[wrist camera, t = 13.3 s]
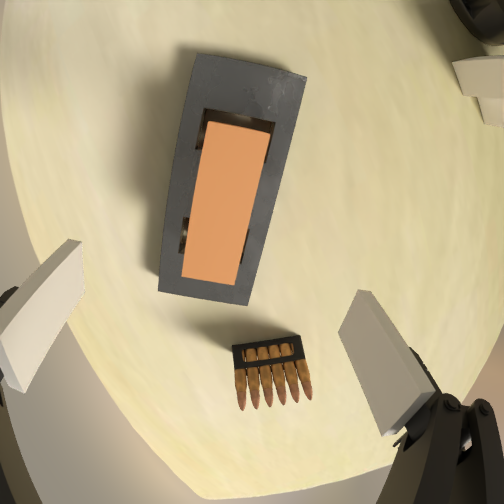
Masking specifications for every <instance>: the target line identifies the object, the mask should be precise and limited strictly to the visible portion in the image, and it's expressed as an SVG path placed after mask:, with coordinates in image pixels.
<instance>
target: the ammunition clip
mask: <svg viewBox="0 0 504 504" xmlns="http://www.w3.org/2000/svg"><path fill="white" fill-rule="evenodd" d="M232 351H233V361H234V372H235V387H236V390H237V399H238V404H239V407H240V409H241V410H242V411H243V410H244V409H245V405H246V388H247V380H246V376H247V379H248V386H249V389H250V395H251V400H252V404H253V406H254V408H255V409H257V408H258V406H259V400H260V395H259V385H260V381H259V374H260V380H261V385H262V387H263V391H264V397H265V400H266V402H267V404H268V406H269V407H271V406H272V403H273V391H272V390H273V389H272V382H273V381H274V383H275V386H276V390H277V394H278V397H279V400H280V402H281V403H282V405H285V403H286V389H285V377H286V380H287V382H288V385H289V388H290V392H291V395H292V397H293V399H294V401H295V402H296V403H298V401H299V388H298V377H299V379H300V381H301V384H302V387H303V390H304V392H305V395H306V396H307V398H308V399H309V400H312V386H311V381H310V373H309V370H308V366H307V363H306V359H305V354H304V350H303V345H302V341H301V336H300V335H297V336H291V337H285V338H279V339H273V340H267V341H260V342H253V343H246V344H239V345H232ZM291 351H292V352H291ZM268 354H269V355H268ZM280 354H281V356H280ZM292 354H293V355H292ZM245 357H246V362H245ZM257 357H258V360H257ZM269 358H270V359H269ZM282 363H283V365H282ZM270 365H271V366H270ZM258 366H259V368H258ZM246 368H247V369H246ZM296 369H297V373H298V377H297V373H296ZM283 370H284V371H283ZM271 372H272V374H271ZM284 372H285V376H284ZM272 376H273V381H272Z"/></svg>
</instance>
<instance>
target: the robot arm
mask: <svg viewBox="0 0 504 504" xmlns="http://www.w3.org/2000/svg"><path fill="white" fill-rule="evenodd" d="M450 2H451V4H452V6H453V8H454V10H455V12H456V13H457V15H458V16H459V18H460V19H461V21H462V22H463V23H464V25H465V26H466V27H467V28H468V29H469V31H470V32H471V33H472V34H473V35H474V36H475V37H477V38H478V39H479V40H480V41H482V42H483V43H485V44H487V45H491V46H500V45H504V0H450ZM84 293H85V285H84V271H83V251H82V242H81V241H76V240H71V239H68V240H67V241H66V242H65V243H64V244H63V245H61V246H60V247H59V248H58V249H57V250H56V251H55V252H54V253H53V254H52V255H51V256H50V257H49V258H48V259H47V260H46V261H45V262H44V263H43V264H42V265H41V266H40V267H39V268H38V269H37V270H36V271H35V272H34V273H33V274H32V275H31V276H30V277H29V278H28V279H27V280H26V281H25V282H24V283H23V284H22V285H21V286H20V287H16V286H14V287H13V288H11V289H9V290H7V291H6V292H4V293H3V294H2V296H1V297H0V382H1V380H2V378H3V377H5V379H6V381H7V383H8V385H9V387H11V388H13V389H16V390H18V391H20V392H22V393H25V392H26V390H27V388H28V386H29V384H30V382H31V381H32V379H33V377H34V375H35V373H36V371H37V369H38V368H39V366H40V364H41V362H42V360H43V359H44V357H45V355H46V353H47V352H48V350H49V348H50V347H51V345H52V343H53V342H54V340H55V338H56V337H57V335H58V333H59V332H60V330H61V328H62V327H63V325H64V324H65V322H66V321H67V319H68V317H69V316H70V314H71V313H72V311H73V310H74V308H75V307H76V305H77V304H78V302H79V301H80V299H81V298H82V296H83V295H84ZM338 334H339V336H340V339H341V341H342V343H343V345H344V348H345V350H346V352H347V354H348V357H349V359H350V361H351V363H352V366H353V368H354V370H355V373H356V375H357V377H358V380H359V382H360V384H361V387H362V389H363V392H364V394H365V396H366V399H367V401H368V404H369V406H370V409H371V411H372V413H373V416H374V418H375V421H376V423H377V426H378V428H379V431H380V433H381V436H388V435H393V434H397V433H398V432H399V431H400V430H401V429H402V428H403V427H404V426H405V427H406V429H407V432H406V433H405V434H404V435H403V436H401V437H400V438H399V439H398V440H397V441H396V442H395V443H394V445H393V447H395V446H396V445H398V444H399V443H400V446H399V447H398V452H397V454H396V457H395V460H394V462H393V465H392V468H391V470H390V473H389V475H388V478H387V480H386V482H385V485H384V487H383V489H382V492H381V494H380V496H379V498H378V500H377V503H376V504H504V457H503V451H502V446H501V440H500V435H499V431H498V427H497V422H496V418H495V414H494V411H493V408H492V407H491V405H490V403H489V402H487V401H486V400H484V399H476V400H475V401H474V402H473V404H472V405H471V406H463V405H461V403H460V401H459V400H458V399H457V398H456V397H454V396H453V395H451V394H448V393H443V394H442V392H441V390H440V389H439V387H438V385H437V384H436V382H435V380H434V379H433V377H432V376H431V374H430V372H429V371H427V368H426V366H425V364H423V361H422V360H421V358H420V357H419V355H418V354H417V353H416V352H415V351H414V350H413V349H412V348H411V347H408V345H407V344H406V342H405V341H404V339H403V338H402V336H401V335H400V333H399V332H398V330H397V329H396V327H395V326H394V324H393V323H392V321H391V320H390V318H389V317H388V315H387V314H386V312H385V311H384V310H383V308H382V307H381V305H380V304H379V302H378V301H377V300H376V298H375V297H374V295H373V294H372V292H371V291H365V290H358V291H357V293H356V295H355V297H354V300H353V302H352V304H351V306H350V308H349V310H348V313H347V315H346V317H345V319H344V321H343V323H342V325H341V327H340V329H339V331H338ZM469 441H472V446H471V447H470V448H469V449H467V450H466V451H465V445H466V444H467V443H468V442H469ZM0 504H42V502H41V500H40V498H39V496H38V493H37V491H36V489H35V487H34V485H33V482H32V481H31V478H30V475H29V473H28V471H27V468H26V466H25V463H24V460H23V458H22V455H21V452H20V450H19V447H18V444H17V441H16V438H15V434H14V431H13V428H12V424H11V421H10V417H9V413H8V410H7V406H6V401H5V398H4V392H3V388H2V386H1V384H0Z"/></svg>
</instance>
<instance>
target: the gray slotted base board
mask: <svg viewBox="0 0 504 504" xmlns="http://www.w3.org/2000/svg"><path fill="white" fill-rule="evenodd" d="M306 81H307V77H305V76H302V75H298V74H295V73H291V72H288V71H284V70H280V69H276V68H272V67H268V66H264V65H260V64H255V63H251V62H246V61H241V60H236V59H231V58H225V57H219V56H213V55H206V54H199V53H197V56H196V60H195V63H194V67H193V71H192V75H191V79H190V83H189V88H188V92H187V96H186V101H185V105H184V110H183V114H182V119H181V124H180V129H179V134H178V139H177V144H176V150H175V156H174V161H173V167H172V173H171V180H170V186H169V193H168V200H167V207H166V215H165V223H164V231H163V240H162V249H161V260H160V271H159V283H158V291H160V292H165V293H170V294H176V295H182V296H187V297H193V298H199V299H205V300H211V301H217V302H224V303H230V304H237V305H243V306H248V302H249V299H250V295H251V291H252V288H253V284H254V280H255V276H256V273H257V269H258V265H259V262H260V258H261V254H262V250H263V247H264V243H265V239H266V235H267V232H268V228H269V224H270V220H271V216H272V213H273V209H274V205H275V201H276V197H277V194H278V190H279V186H280V182H281V178H282V175H283V171H284V167H285V163H286V159H287V155H288V151H289V147H290V144H291V140H292V136H293V132H294V128H295V124H296V120H297V116H298V112H299V108H300V104H301V100H302V96H303V92H304V88H305V85H306ZM206 109H211V110H217V111H222V112H227V113H233V114H238V115H242V116H247V117H252V118H256V119H261V120H265V121H269V122H272V124H271V129H270V133H269V134H270V139H269V143H268V147H267V151H266V155H265V159H264V163H263V167H262V171H261V175H260V179H259V183H258V188H257V192H256V196H255V200H254V204H253V208H252V212H251V217H250V221H249V225H248V229H247V233H246V238H245V242H244V246H243V250H242V254H241V259H240V263H239V267H238V271H237V276H236V280H235V284H234V285H229V284H222V283H216V282H211V281H205V280H199V279H193V278H187V277H182V269H183V261H184V254H185V247H186V243H182V237H183V230H184V224H185V217H187V218H190V214H191V208H192V202H193V197H194V191H195V185H196V180H197V174H198V169H199V164H200V159H201V154H202V149H203V148H202V147H198V144H199V139H200V134H201V130H202V125H203V120H204V116H205V111H206Z"/></svg>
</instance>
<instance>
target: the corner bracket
mask: <svg viewBox="0 0 504 504" xmlns="http://www.w3.org/2000/svg"><path fill="white" fill-rule="evenodd" d="M452 65H453V67H454V70H455V73H456V75H457V78H458V81H459V84H460V87H461V90H462V93H463V96H471V97H477V98H478V102H479V105H480V109H481V113H482V117H483V121H484V124H486V125H492V126H497V127H502V128H504V55H498V56H480V57H473V58H468V59H464V60H459V61H455V62H452Z"/></svg>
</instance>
